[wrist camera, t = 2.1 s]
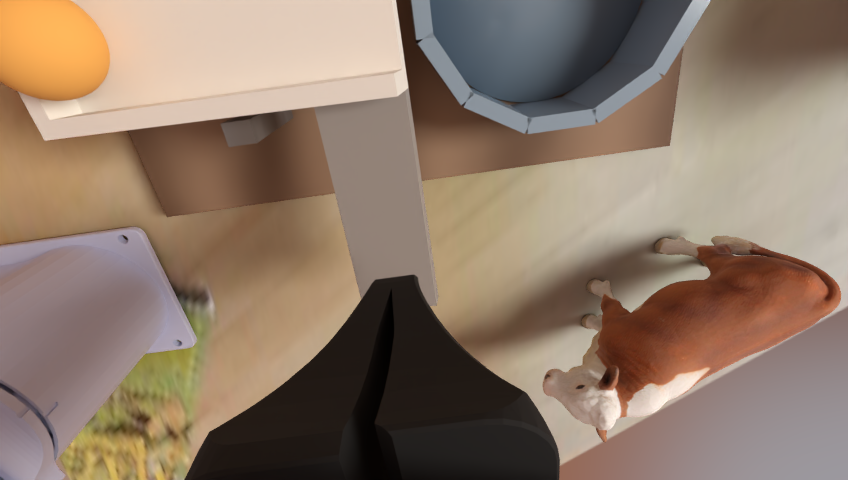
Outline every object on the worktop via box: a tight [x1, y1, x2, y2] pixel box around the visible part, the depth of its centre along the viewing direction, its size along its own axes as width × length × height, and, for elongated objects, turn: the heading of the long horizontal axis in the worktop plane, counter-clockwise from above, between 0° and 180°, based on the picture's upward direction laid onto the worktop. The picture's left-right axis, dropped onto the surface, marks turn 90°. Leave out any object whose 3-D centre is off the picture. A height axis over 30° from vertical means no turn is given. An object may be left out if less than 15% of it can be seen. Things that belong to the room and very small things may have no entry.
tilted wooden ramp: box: [18, 0, 438, 306], centre depth 14 cm, size 12×13×3 cm
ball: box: [0, 0, 110, 101], centre depth 12 cm, size 3×3×3 cm
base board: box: [128, 0, 683, 217], centre depth 15 cm, size 25×15×6 cm, turn 98°
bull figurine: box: [543, 236, 841, 442], centre depth 21 cm, size 4×14×8 cm, turn 120°
